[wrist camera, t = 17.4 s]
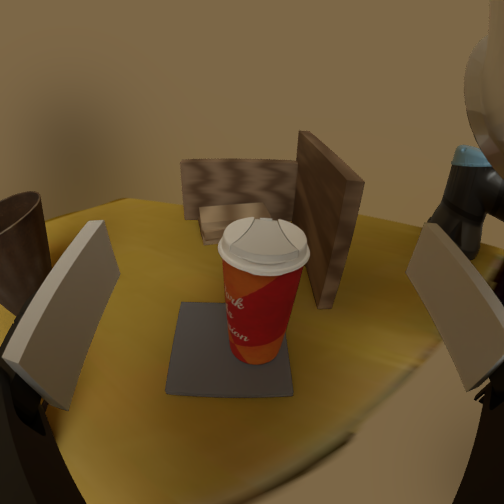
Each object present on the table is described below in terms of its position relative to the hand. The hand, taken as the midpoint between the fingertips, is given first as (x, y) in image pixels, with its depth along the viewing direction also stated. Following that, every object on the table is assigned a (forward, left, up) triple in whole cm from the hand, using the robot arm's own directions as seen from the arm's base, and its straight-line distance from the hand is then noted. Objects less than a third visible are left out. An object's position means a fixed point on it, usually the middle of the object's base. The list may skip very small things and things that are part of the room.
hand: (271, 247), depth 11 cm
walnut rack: (0, -29, -21) cm, 36 cm away
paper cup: (0, -10, -20) cm, 22 cm away
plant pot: (+33, -14, -21) cm, 42 cm away
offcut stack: (+2, -35, -21) cm, 41 cm away
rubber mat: (+2, -10, -21) cm, 23 cm away
